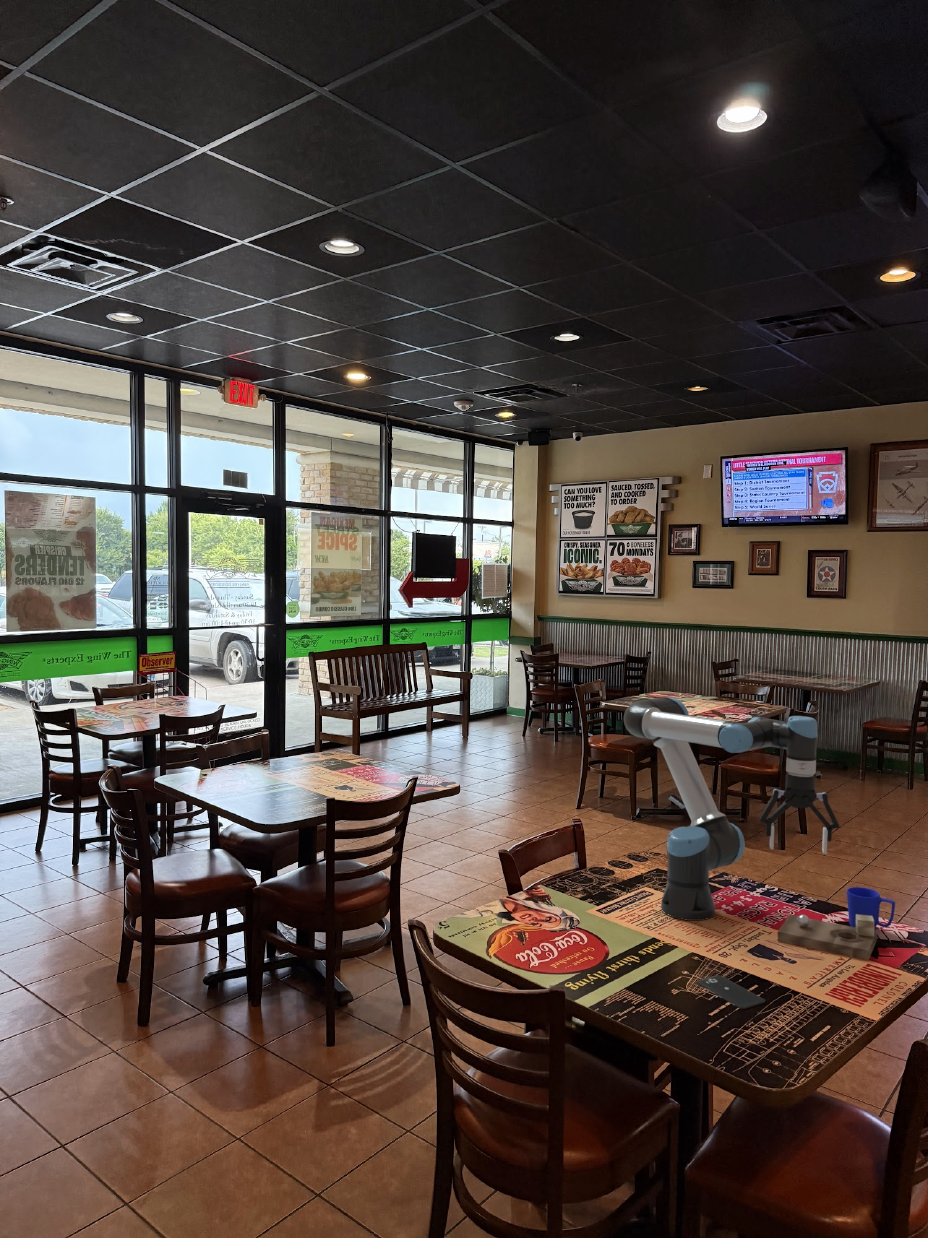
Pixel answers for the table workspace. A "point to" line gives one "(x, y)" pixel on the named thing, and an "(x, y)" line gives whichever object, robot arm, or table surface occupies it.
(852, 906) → the mug
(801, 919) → the ball
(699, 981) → the smartphone
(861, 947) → the deck
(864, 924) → the maple cube
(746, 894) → the table surface
